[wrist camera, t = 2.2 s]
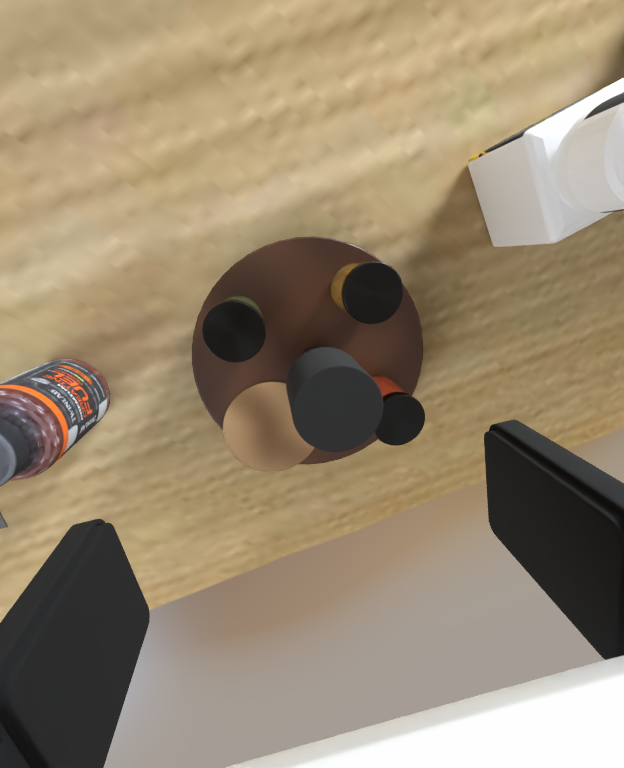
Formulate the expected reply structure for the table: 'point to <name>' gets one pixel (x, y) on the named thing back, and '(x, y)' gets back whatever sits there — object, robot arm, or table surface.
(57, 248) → the table surface
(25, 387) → the supplement bottle
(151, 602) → the table surface
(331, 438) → the spice rack
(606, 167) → the medicine bottle
